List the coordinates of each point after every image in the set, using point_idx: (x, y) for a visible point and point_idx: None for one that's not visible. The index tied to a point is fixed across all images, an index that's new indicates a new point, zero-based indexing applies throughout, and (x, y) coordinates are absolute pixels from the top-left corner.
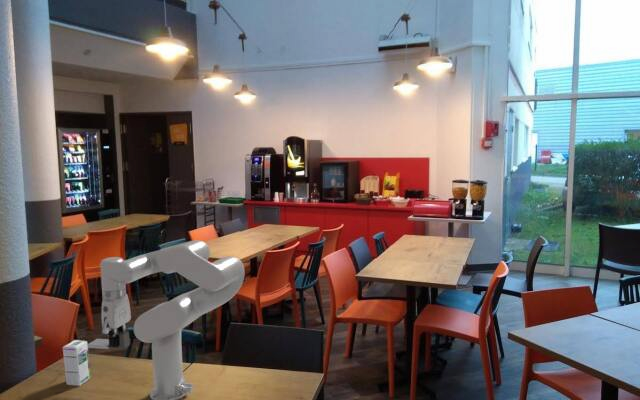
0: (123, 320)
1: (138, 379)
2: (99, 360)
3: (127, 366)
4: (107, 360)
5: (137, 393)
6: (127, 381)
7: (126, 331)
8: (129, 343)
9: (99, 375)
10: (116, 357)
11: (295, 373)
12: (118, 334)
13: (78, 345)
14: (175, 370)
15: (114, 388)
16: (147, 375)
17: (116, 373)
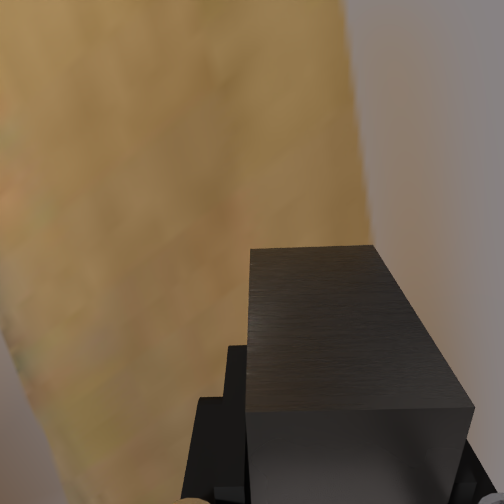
0: None
1: (186, 156)
2: (95, 449)
3: (88, 307)
4: (80, 422)
5: (336, 46)
6: (224, 204)
7: (261, 450)
8: (258, 260)
9: (211, 369)
10: (39, 406)
11: None
12: (444, 498)
13: None
14: None
15: (307, 223)
16: (127, 132)
17: (169, 312)
